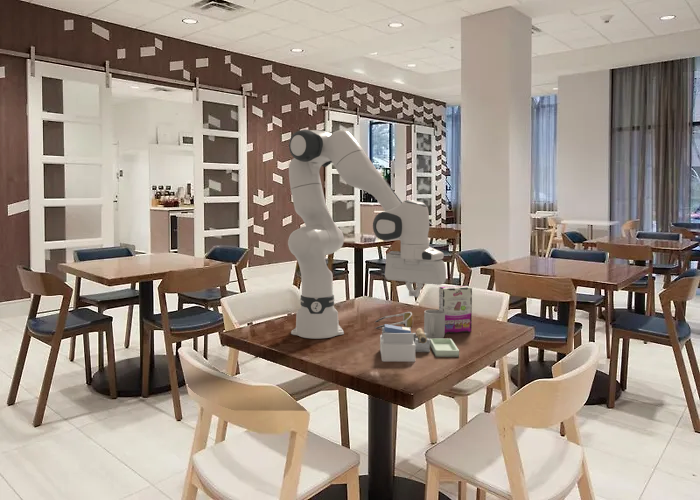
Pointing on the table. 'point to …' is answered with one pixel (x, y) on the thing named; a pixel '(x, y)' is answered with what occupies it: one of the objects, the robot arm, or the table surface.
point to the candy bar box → (456, 308)
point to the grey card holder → (397, 346)
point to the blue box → (396, 329)
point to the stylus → (421, 335)
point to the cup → (434, 323)
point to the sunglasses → (406, 319)
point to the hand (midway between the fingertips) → (414, 296)
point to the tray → (444, 347)
